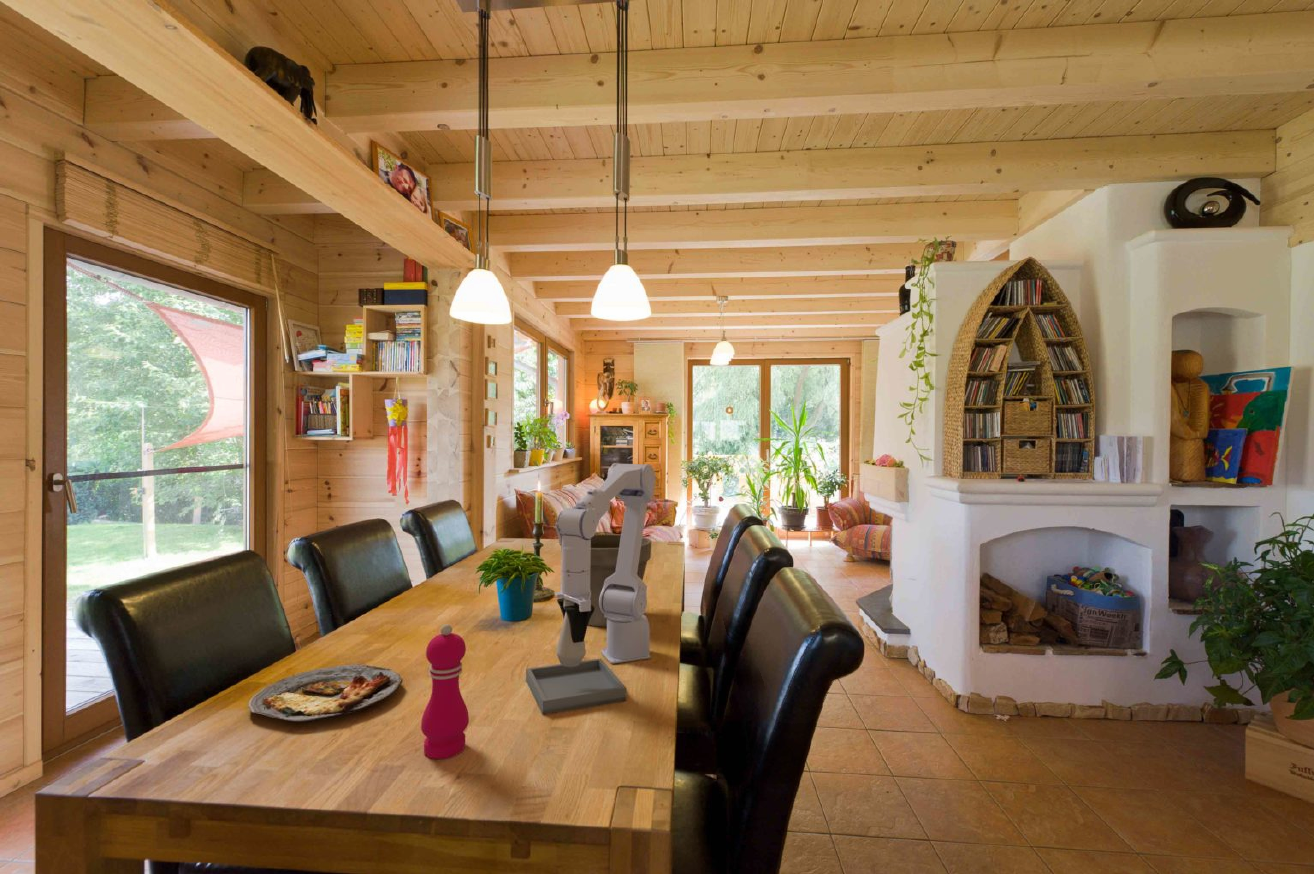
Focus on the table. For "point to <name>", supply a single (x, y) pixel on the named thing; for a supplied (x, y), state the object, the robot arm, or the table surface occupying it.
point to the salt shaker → (569, 644)
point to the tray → (574, 686)
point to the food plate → (325, 693)
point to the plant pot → (609, 568)
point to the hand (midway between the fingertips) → (575, 638)
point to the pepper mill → (445, 697)
